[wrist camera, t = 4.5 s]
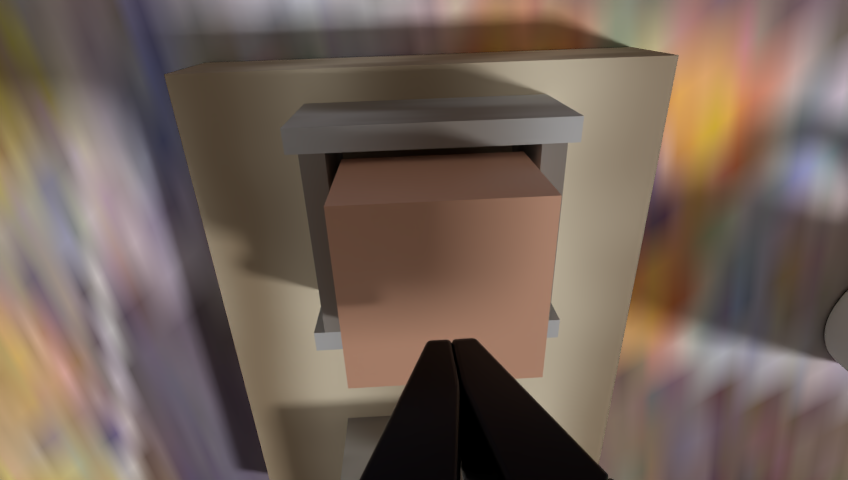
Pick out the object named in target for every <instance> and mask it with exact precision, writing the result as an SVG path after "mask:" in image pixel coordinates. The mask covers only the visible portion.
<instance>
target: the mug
mask: <svg viewBox="0 0 848 480" xmlns="http://www.w3.org/2000/svg"><path fill="white" fill-rule="evenodd" d="M825 344H826V348H827V350H828V352H829V353H830V355H831V356H832V357H833V358H834V359H835V360H836V361H837V362H838V363H839V364H840V365H841V366H842V367H843V368H845V369H846V370H847V371H848V291H847V292H846V293H845V294H844V295H843V296H842V297H841V298H840V300H839V301H838V302H837V304H836V305H835V306H834V308H833V310H832V311H831V313H830V315H829V318H828V320H827V323H826V327H825Z"/></svg>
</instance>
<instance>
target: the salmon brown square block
mask: <svg viewBox="0 0 848 480" xmlns="http://www.w3.org/2000/svg"><path fill="white" fill-rule="evenodd" d="M561 199H562V195H561V194H560V193H559V192H558V191H557V189H556V188H555V187H554V186H553V185H552V184H551V182H550V181H549V180H548V179H547V178H546V177H545V176H544V174H543V173H542V172H541V171H540V170H539V169H538V167H537V166H536V165H535V164H534V163H533V162H532V161H531V159H530V158H529V157H528V156H527V155H526V154H525V152H524V151H519V152H496V153H473V154H450V155H426V156H403V157H380V158H357V159H341V162H340V164H339V167H338V170H337V172H336V175H335V178H334V180H333V183H332V186H331V188H330V191H329V194H328V196H327V199H326V202H325V205H324V212H325V220H326V227H327V234H328V242H329V249H330V257H331V264H332V272H333V279H334V287H335V294H336V302H337V309H338V317H339V324H340V332H341V339H342V346H343V354H344V361H345V369H346V376H347V384H348V388H365V387H383V386H400V385H406V383H407V381H408V379H409V377H410V375H411V373H412V371H413V369H414V367H415V365H416V363H417V361H418V359H419V357H420V355H421V353H422V351H423V349H424V347H425V345H426V343H427V342H428V341H430V340H445V339H448V340H450V341H451V343H452V341H453V340H454V339H462V338H475V339H477V340H478V341H479V342H480V343H481V344H482V345H483V346H484V347H485V348H486V350H487V351H488V352H489V353H490V354H491V355H492V356H493V357H494V358H495V359H496V360H497V361H498V362H499V363H500V364H501V365H502V366H503V367H504V368H505V369H506V370H507V371H508V372H509V373H510V374H511V375H512V376H513V377H514V378H515V379H521V378H538V377H543V369H544V359H545V350H546V340H547V331H548V321H549V312H550V302H551V293H552V284H553V274H554V265H555V255H556V246H557V236H558V227H559V218H560V208H561Z"/></svg>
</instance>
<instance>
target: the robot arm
mask: <svg viewBox="0 0 848 480" xmlns="http://www.w3.org/2000/svg"><path fill="white" fill-rule="evenodd" d="M461 472H462V477H463V480H613V479H611V478H609V479H608V474H607V473H606V472H605V471H604V470H603V469H602V468H601V467H600V466H599V465H598V464H597V463H596V462H595V461H594V460H593V459H592V457H591V456H590V455H589V454H588V453H587V452H586V451H585V450H584V449H583V448H582V447H581V446H580V445H579V444H578V443H577V442H576V441H575V440H574V439H573V438H572V437H571V436H570V435H569V434H568V433H567V432H566V431H565V430H564V429H563V428H562V427H561V426H560V425H559V424H558V423H557V421H556V420H555V419H554V418H553V417H552V416H551V415H550V414H549V413H548V412H547V411H546V410H545V409H544V408H543V407H542V406H541V405H540V404H539V403H538V402H537V401H536V400H535V399H534V398H533V397H532V396H531V395H530V394H529V393H528V392H527V391H526V390H525V389H524V388H523V387H522V385H521V384H520V383H519V382H518V381H517V380H516V379H515V378H514V377H513V376H512V375H511V374H510V373H509V372H508V371H507V370H506V369H505V368H504V367H503V366H502V365H501V364H500V363H499V362H498V361H497V360H496V359H495V358H494V357H493V356H492V355H491V354H490V353H489V352H488V351H487V350H486V348H485V347H484V346H483V345H482V344H481V343H480V342H479V341H478V340H477V339H475V338H462V339H454V340H453V341H452V343H451V341H450V340H448V339H445V340H430V341H428V342H427V343H426V345H425V347H424V349H423V351H422V353H421V355H420V357H419V359H418V361H417V363H416V365H415V367H414V369H413V371H412V373H411V375H410V377H409V379H408V381H407V383H406V385H405V387H404V389H403V392H402V394H401V396H400V398H399V400H398V402H397V404H396V406H395V408H394V410H393V412H392V414H391V416H390V418H389V420H388V422H387V424H386V426H385V428H384V430H383V432H382V434H381V436H380V438H379V441H378V443H377V445H376V447H375V449H374V451H373V453H372V455H371V457H370V459H369V461H368V463H367V465H366V467H365V469H364V471H363V473H362V475H361V477H360V479H359V480H461Z"/></svg>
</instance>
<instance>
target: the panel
mask: <svg viewBox="0 0 848 480" xmlns="http://www.w3.org/2000/svg"><path fill="white" fill-rule="evenodd" d="M677 61H678V55H674V54H668V53H662V52H656V51H651V50H645V49H639V48H633V47H618V48H591V49H564V50H537V51H509V52H482V53H455V54H428V55H400V56H373V57H346V58H319V59H291V60H264V61H237V62H210V63H202V64H199V65H195V66H192V67H188V68H185V69H181V70H178V71H174V72H171V73H167V74H164V76H165V80H166V84H167V88H168V92H169V96H170V99H171V103H172V107H173V111H174V115H175V119H176V123H177V126H178V130H179V134H180V138H181V142H182V146H183V149H184V153H185V157H186V161H187V165H188V169H189V172H190V176H191V180H192V184H193V188H194V192H195V195H196V199H197V203H198V207H199V211H200V215H201V218H202V222H203V226H204V230H205V234H206V238H207V241H208V245H209V249H210V253H211V257H212V261H213V264H214V268H215V272H216V276H217V280H218V284H219V287H220V291H221V295H222V299H223V303H224V307H225V310H226V314H227V318H228V322H229V326H230V330H231V333H232V337H233V341H234V345H235V349H236V353H237V356H238V360H239V364H240V368H241V372H242V376H243V379H244V383H245V387H246V391H247V395H248V399H249V402H250V406H251V410H252V414H253V418H254V422H255V425H256V429H257V433H258V437H259V441H260V445H261V448H262V452H263V456H264V460H265V464H266V468H267V471H268V475H269V479H270V480H359V479H360V477H361V475H362V473H363V471H364V469H365V467H366V465H367V463H368V461H369V459H370V457H371V455H372V453H373V451H374V449H375V447H376V445H377V443H378V441H379V438H380V436H381V434H382V432H383V430H384V428H385V426H386V424H387V422H388V420H389V418H390V416H391V414H392V412H393V410H394V408H395V406H396V404H397V402H398V400H399V398H400V396H401V394H402V392H403V389H404V387H405V385H400V386H383V387H365V388H348V384H347V376H346V369H345V361H344V354H343V346H342V339H341V332H340V324H339V317H338V309H337V302H336V294H335V287H334V279H333V272H332V264H331V257H330V249H329V242H328V234H327V227H326V220H325V212H324V205H325V202H326V199H327V196H328V194H329V191H330V188H331V186H332V183H333V180H334V178H335V175H336V172H337V170H338V167H339V164H340V162H341V159H357V158H380V157H403V156H426V155H450V154H473V153H496V152H519V151H524V152H525V154H526V155H527V156H528V157H529V158H530V159H531V161H532V162H533V163H534V164H535V165H536V166H537V167H538V169H539V170H540V171H541V172H542V173H543V174H544V176H545V177H546V178H547V179H548V180H549V181H550V182H551V184H552V185H553V186H554V187H555V188H556V189H557V191H558V192H559V193H560V194H561V195H562V199H561V208H560V218H559V227H558V236H557V246H556V255H555V265H554V274H553V284H552V293H551V302H550V312H549V321H548V331H547V340H546V350H545V359H544V369H543V377H538V378H521V379H516V380H517V381H518V382H519V383H520V384H521V385H522V387H523V388H524V389H525V390H526V391H527V392H528V393H529V394H530V395H531V396H532V397H533V398H534V399H535V400H536V401H537V402H538V403H539V404H540V405H541V406H542V407H543V408H544V409H545V410H546V411H547V412H548V413H549V414H550V415H551V416H552V417H553V418H554V419H555V420H556V421H557V423H558V424H559V425H560V426H561V427H562V428H563V429H564V430H565V431H566V432H567V433H568V434H569V435H570V436H571V437H572V438H573V439H574V440H575V441H576V442H577V443H578V444H579V445H580V446H581V447H582V448H583V449H584V450H585V451H586V452H587V453H588V454H589V455H590V456H591V457H592V459H593V460H594V461H595V462H596V463H597V464H598V465H599V460H600V455H601V450H602V445H603V439H604V434H605V429H606V424H607V419H608V414H609V409H610V404H611V398H612V393H613V388H614V383H615V378H616V373H617V368H618V363H619V357H620V352H621V347H622V342H623V337H624V332H625V327H626V322H627V317H628V311H629V306H630V301H631V296H632V291H633V286H634V281H635V276H636V270H637V265H638V260H639V255H640V250H641V245H642V240H643V235H644V229H645V224H646V219H647V214H648V209H649V204H650V199H651V194H652V189H653V183H654V178H655V173H656V168H657V163H658V158H659V153H660V148H661V142H662V137H663V132H664V127H665V122H666V117H667V112H668V107H669V101H670V96H671V91H672V86H673V81H674V76H675V71H676V66H677ZM461 480H463V477H462V472H461Z"/></svg>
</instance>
